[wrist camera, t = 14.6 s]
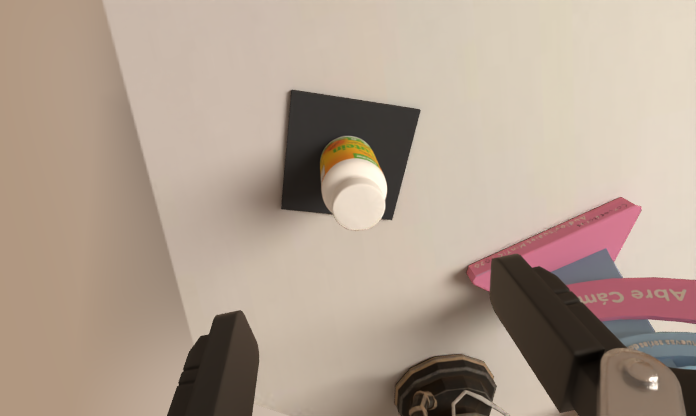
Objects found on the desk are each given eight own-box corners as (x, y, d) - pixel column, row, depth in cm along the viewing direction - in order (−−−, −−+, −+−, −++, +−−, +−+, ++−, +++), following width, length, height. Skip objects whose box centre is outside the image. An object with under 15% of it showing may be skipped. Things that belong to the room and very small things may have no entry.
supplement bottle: (376, 134, 33) (399, 174, 24) (371, 186, 35) (391, 238, 27) (319, 134, 32) (323, 174, 24) (319, 186, 35) (322, 239, 26)
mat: (281, 207, 36) (281, 209, 36) (291, 89, 31) (291, 90, 30) (391, 218, 38) (392, 220, 38) (419, 109, 33) (420, 110, 32)
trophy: (627, 194, 39) (1254, 536, 13) (636, 288, 47) (1046, 622, 21) (463, 267, 42) (713, 667, 16) (498, 345, 50) (705, 701, 24)
